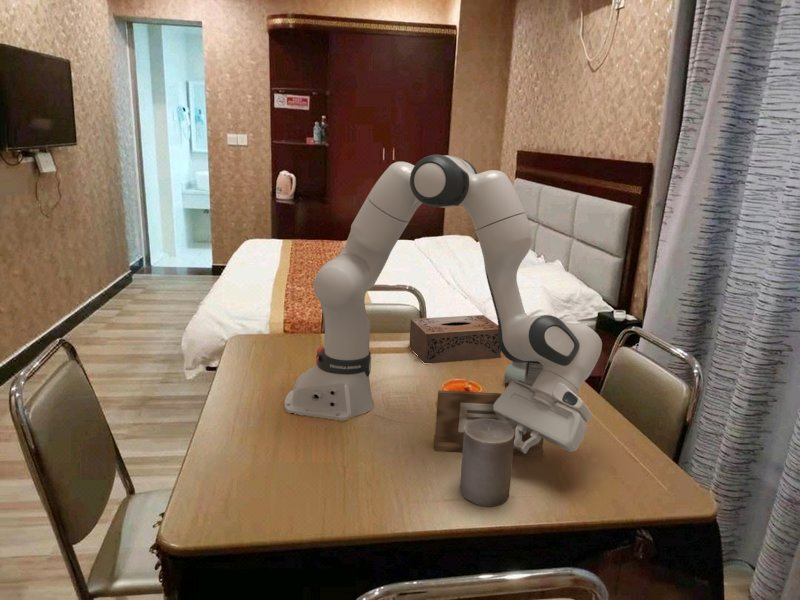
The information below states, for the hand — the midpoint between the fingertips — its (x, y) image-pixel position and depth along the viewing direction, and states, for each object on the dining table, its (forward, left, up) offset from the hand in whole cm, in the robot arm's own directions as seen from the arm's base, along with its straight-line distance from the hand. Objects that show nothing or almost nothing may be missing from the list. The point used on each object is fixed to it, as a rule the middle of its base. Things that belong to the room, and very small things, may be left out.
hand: (518, 449), depth 119 cm
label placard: (-4, +11, -6) cm, 13 cm away
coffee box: (+10, +29, -6) cm, 31 cm away
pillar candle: (-7, -6, -6) cm, 12 cm away
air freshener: (+10, +47, -6) cm, 48 cm away
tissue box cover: (-8, +69, -7) cm, 70 cm away
